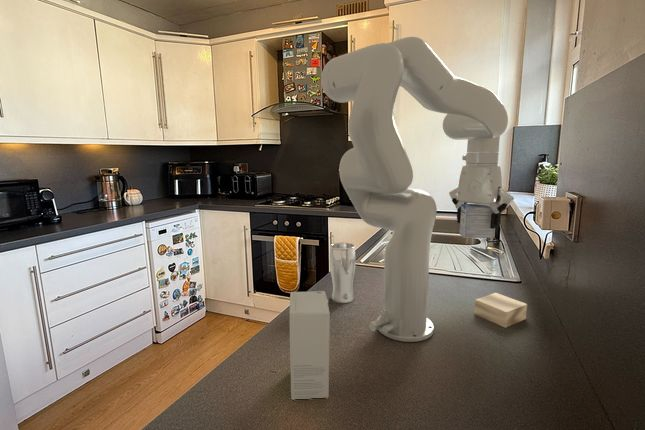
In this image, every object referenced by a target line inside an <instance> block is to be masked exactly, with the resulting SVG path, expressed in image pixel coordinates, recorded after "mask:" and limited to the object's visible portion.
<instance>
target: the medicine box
mask: <svg viewBox="0 0 645 430" xmlns="http://www.w3.org/2000/svg"><path fill="white" fill-rule="evenodd" d="M492 213H493V210H492V208H491V207H490V205H484V204H474V203H467V204H462V205H461V218H460V223H459V235H460V236H461V237H463V238H464V239H466V238H467V239H473V238H474V239H476V238H477V239H495V236H496V235H495V233H496V228H494V229H492V228H490V223H491V214H492Z"/></svg>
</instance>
